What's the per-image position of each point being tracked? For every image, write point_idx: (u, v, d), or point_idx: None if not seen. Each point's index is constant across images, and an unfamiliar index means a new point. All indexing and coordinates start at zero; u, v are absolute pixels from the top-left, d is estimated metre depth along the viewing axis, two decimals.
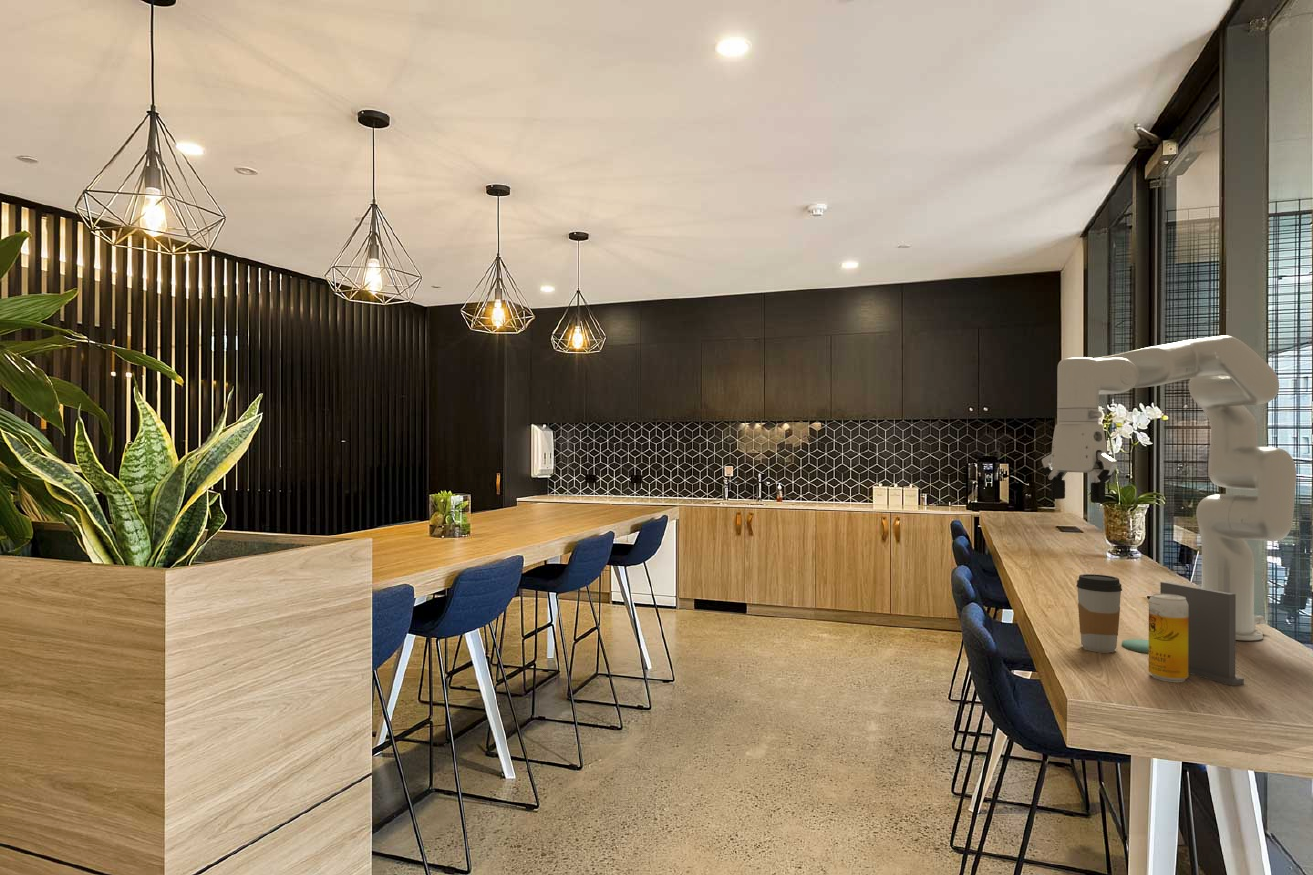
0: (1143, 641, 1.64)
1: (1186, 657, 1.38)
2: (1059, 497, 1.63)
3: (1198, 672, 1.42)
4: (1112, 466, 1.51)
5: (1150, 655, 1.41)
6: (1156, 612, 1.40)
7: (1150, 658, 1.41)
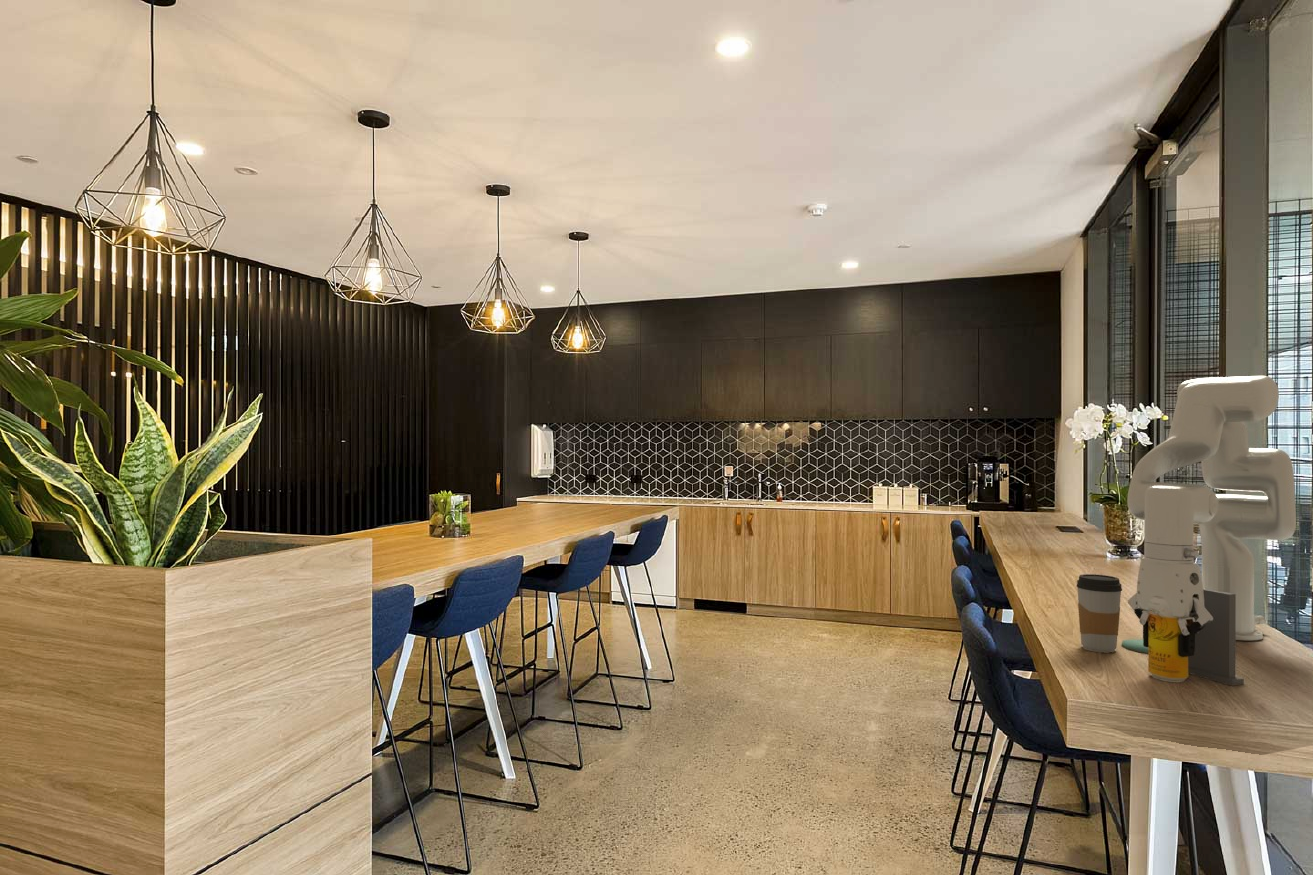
0: None
1: (1186, 657, 1.38)
2: None
3: (1198, 672, 1.42)
4: (1206, 622, 1.34)
5: (1150, 655, 1.41)
6: (1156, 612, 1.40)
7: (1150, 658, 1.41)
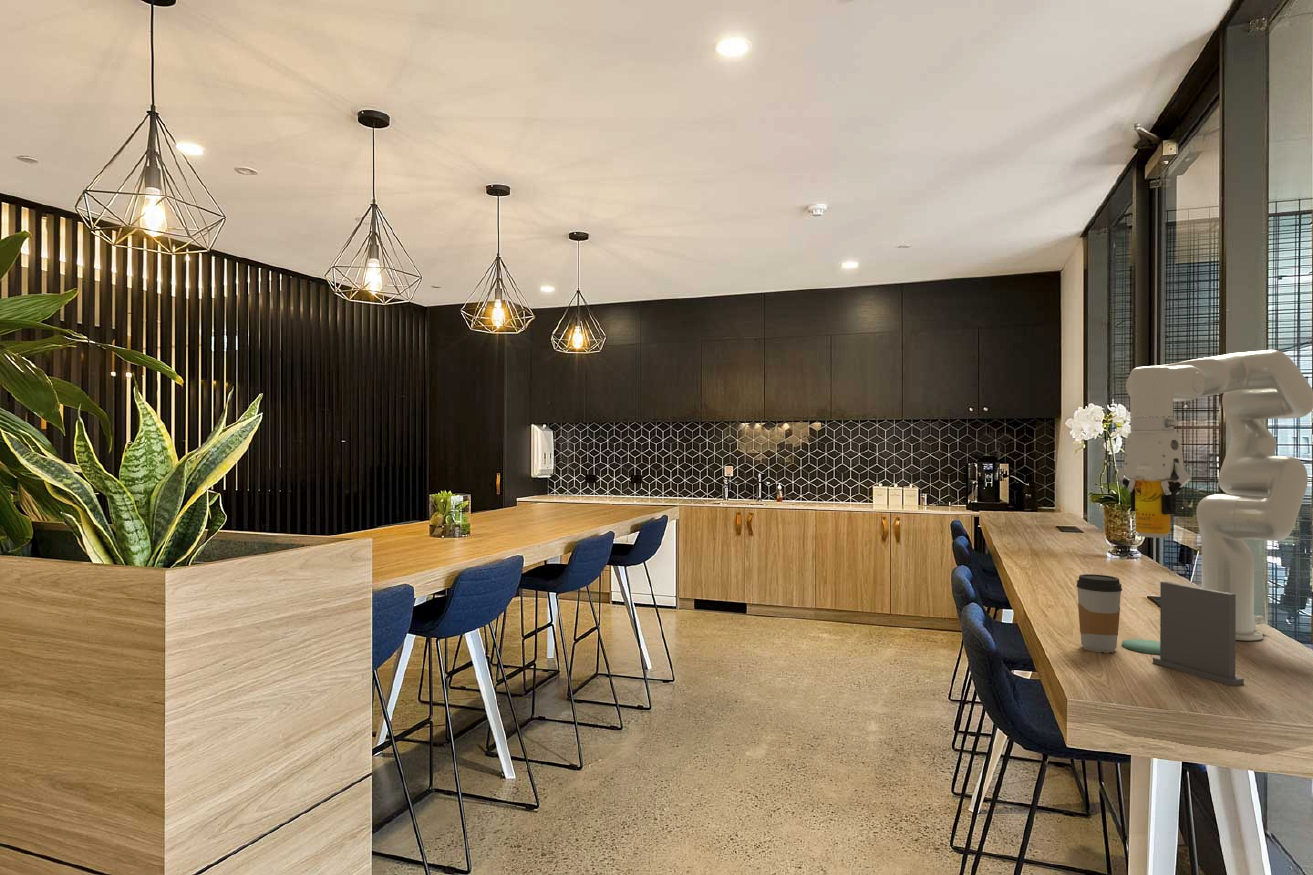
0: (1143, 641, 1.64)
1: (1168, 515, 1.57)
2: None
3: (1198, 672, 1.42)
4: (1185, 481, 1.53)
5: (1137, 516, 1.60)
6: (1142, 477, 1.58)
7: (1137, 519, 1.60)
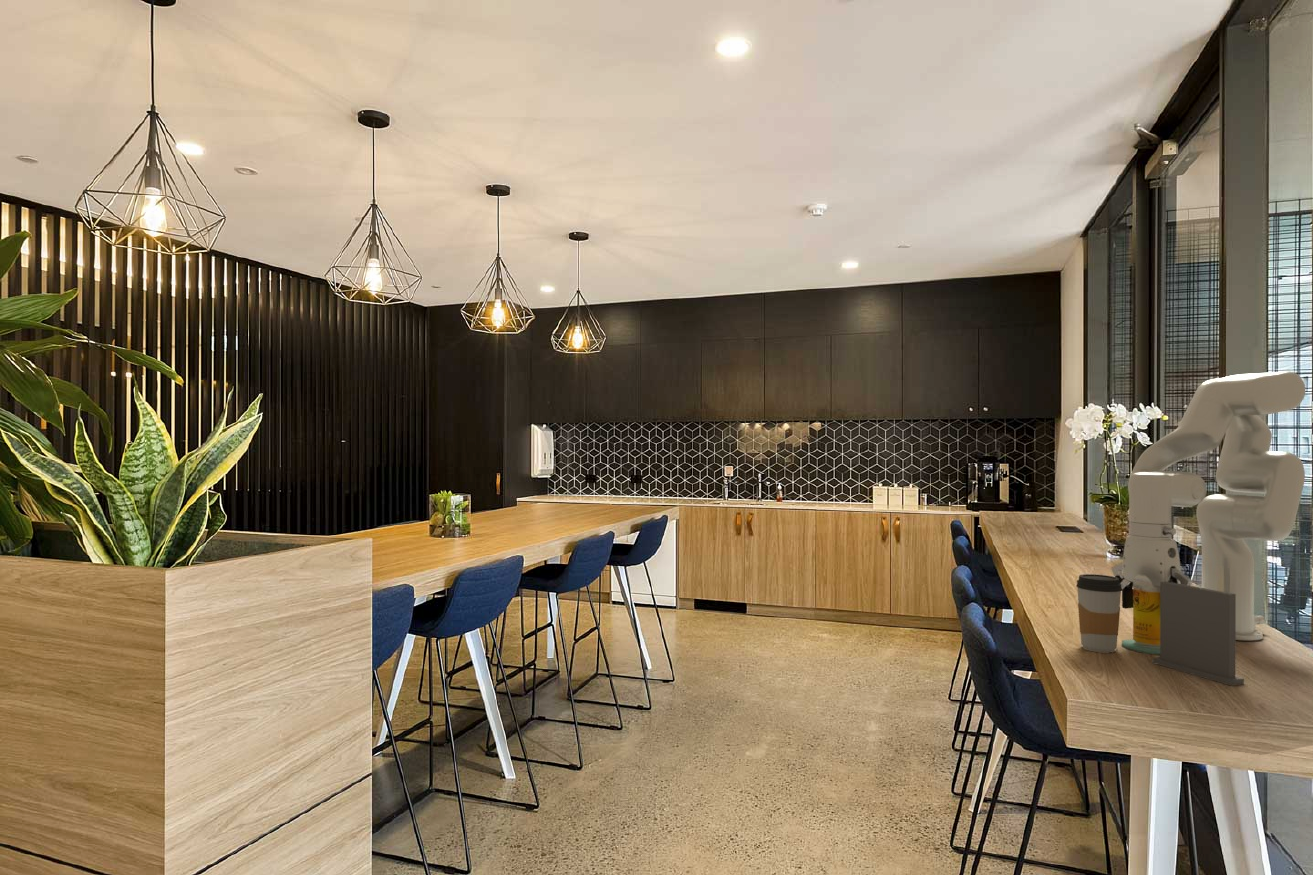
0: None
1: None
2: (1130, 606, 1.66)
3: (1198, 672, 1.42)
4: None
5: (1134, 625, 1.62)
6: (1140, 587, 1.60)
7: (1134, 628, 1.62)
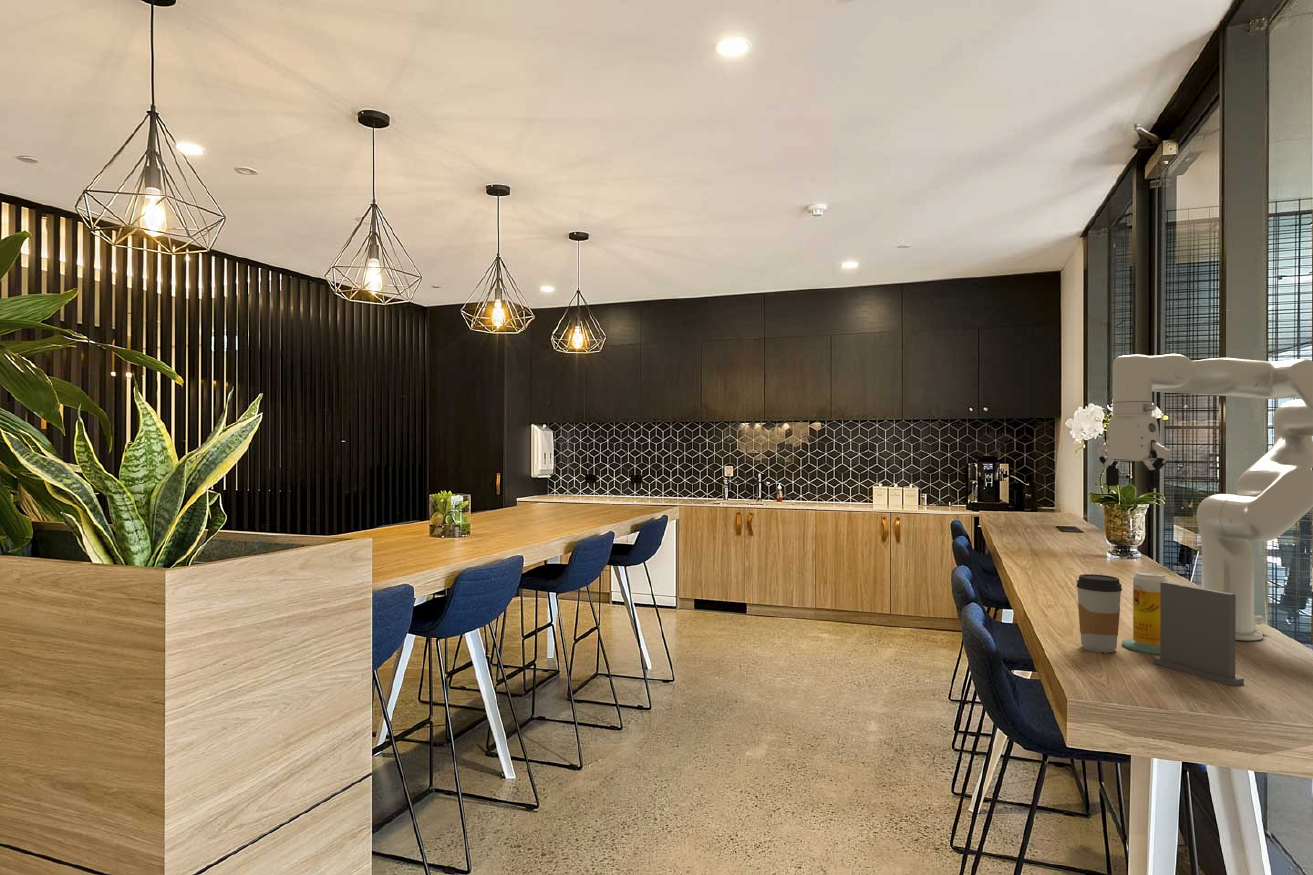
0: None
1: None
2: (1113, 484, 1.76)
3: (1198, 672, 1.42)
4: (1166, 455, 1.64)
5: (1134, 625, 1.62)
6: (1140, 587, 1.60)
7: (1134, 628, 1.62)
